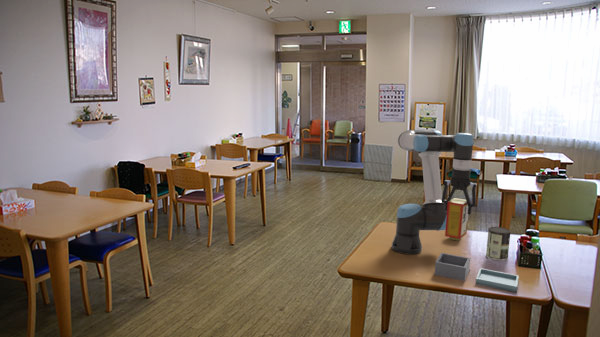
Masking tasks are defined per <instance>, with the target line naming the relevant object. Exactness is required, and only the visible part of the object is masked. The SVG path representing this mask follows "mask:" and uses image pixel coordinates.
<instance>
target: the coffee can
mask: <svg viewBox="0 0 600 337" xmlns="http://www.w3.org/2000/svg"><path fill="white" fill-rule="evenodd" d="M510 240H511V230H510V229H508V228H505V227H501V226H490V227H488V228H487V240H486V241H487V243H486V250H485V251H486V252H485V257H487V258H488V259H490V260H494V261H499V262H500V261H501V262H502V261H507V260H509V249H510Z"/></svg>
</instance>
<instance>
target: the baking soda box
mask: <svg viewBox="0 0 600 337" xmlns="http://www.w3.org/2000/svg"><path fill="white" fill-rule="evenodd" d="M467 206H468V204H467V201H466V198H465V199H464V198H458V197H454V198H451V200H450V201H448V205H447V218H446V230H444V232H445V233H444V237H447V238H449V237H452V238H457V239H460V240H461V239H462V238H463V237H464V236H465V235H467V232H468V230H467V229H468V221H467V222H465V215H466V207H467Z"/></svg>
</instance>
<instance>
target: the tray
mask: <svg viewBox="0 0 600 337" xmlns="http://www.w3.org/2000/svg"><path fill="white" fill-rule="evenodd" d="M519 277H520V275H518V274H512V273H507V272H502V271H497V270H492V269H486V268H482V267H481V268H479V270H478V272H477V275H476V278H475V285H479V286H484V287H488V288H493V289H499V290H502V291H503V290H504V291H508V292H513V293H517V291H518V285H519Z"/></svg>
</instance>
